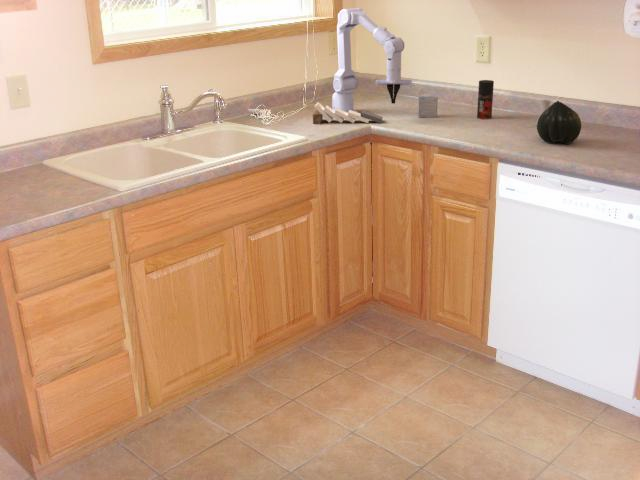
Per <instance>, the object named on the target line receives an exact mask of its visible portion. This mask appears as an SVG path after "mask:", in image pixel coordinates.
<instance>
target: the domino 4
mask: <svg viewBox="0 0 640 480" xmlns="http://www.w3.org/2000/svg"><path fill="white" fill-rule="evenodd" d="M355 111H356V110H354V111H352V110H349V112H348V115H347V116H349V117H352V118H355V119H356V120H358V121H361V122H363V123H366V124H369V121H370V120H369V119H367V118H364V117H361V116H360V115H361V113H360V112H355Z"/></svg>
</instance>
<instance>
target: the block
mask: <svg viewBox="0 0 640 480" xmlns="http://www.w3.org/2000/svg"><path fill="white" fill-rule="evenodd" d="M323 119H324V117H323V116H322V115H321V113H320V112H319V111H318V110H317V109H315V110H314V111H313V113H312V124H314V125H321V123H322V122H323Z"/></svg>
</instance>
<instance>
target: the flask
mask: <svg viewBox="0 0 640 480" xmlns="http://www.w3.org/2000/svg"><path fill="white" fill-rule="evenodd" d="M551 102H552V100H549V99H544V100H542V102H541V103H542V106H541V109H540V113H539V115H538V118H537V119H536V121H535V124H534V126H535V127H536V128H537V123H538V119H539V117H540V115H541V114H542V113H543V112H544V111H545V110H546V109H548V108H549V107H550V106H551Z"/></svg>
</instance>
